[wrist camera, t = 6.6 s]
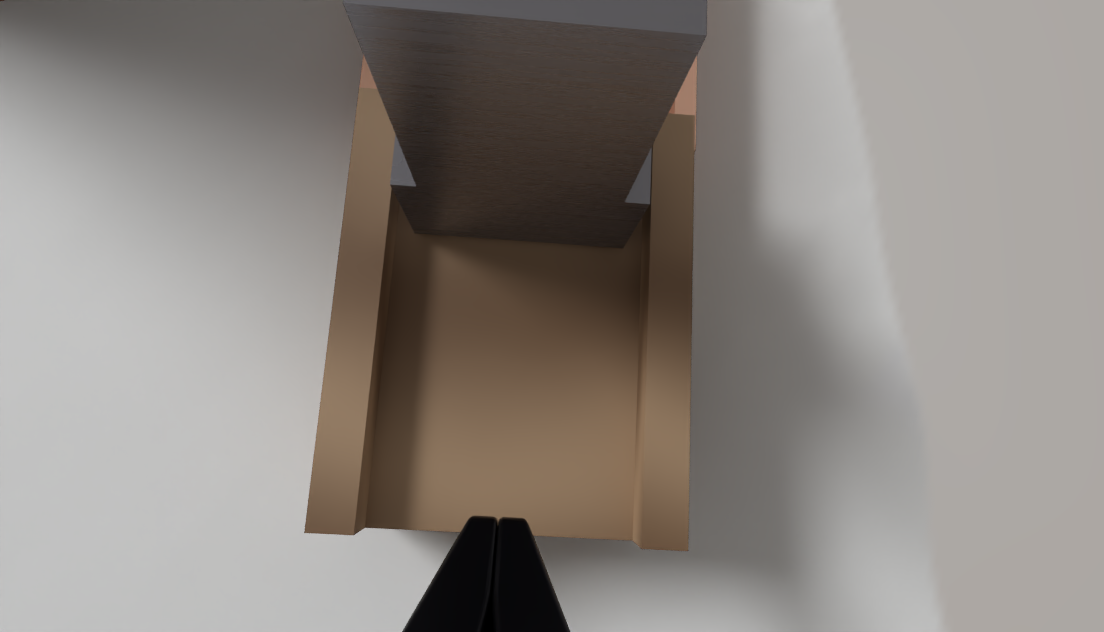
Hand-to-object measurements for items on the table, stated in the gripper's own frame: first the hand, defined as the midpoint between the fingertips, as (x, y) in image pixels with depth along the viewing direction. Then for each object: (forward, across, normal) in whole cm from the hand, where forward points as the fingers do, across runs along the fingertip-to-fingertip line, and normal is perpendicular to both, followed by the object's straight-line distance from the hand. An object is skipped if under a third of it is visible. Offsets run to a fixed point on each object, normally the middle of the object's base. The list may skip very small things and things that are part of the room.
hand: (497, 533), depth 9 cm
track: (+9, 0, +3) cm, 10 cm away
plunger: (+9, 0, -2) cm, 9 cm away
